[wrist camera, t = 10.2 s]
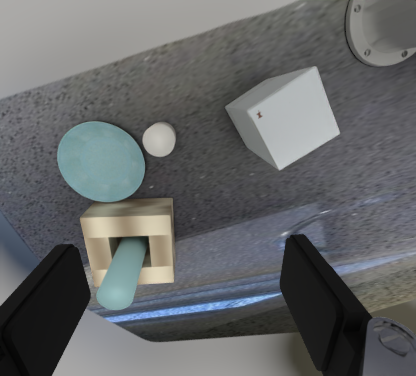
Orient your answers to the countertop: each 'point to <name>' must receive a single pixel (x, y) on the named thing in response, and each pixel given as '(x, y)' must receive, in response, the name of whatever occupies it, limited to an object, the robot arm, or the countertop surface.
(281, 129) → the supplement box
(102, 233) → the birch hole block
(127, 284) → the teal dowel
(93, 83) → the countertop surface
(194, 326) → the countertop surface
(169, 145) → the short off-white stub
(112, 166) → the saucer
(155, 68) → the countertop surface
